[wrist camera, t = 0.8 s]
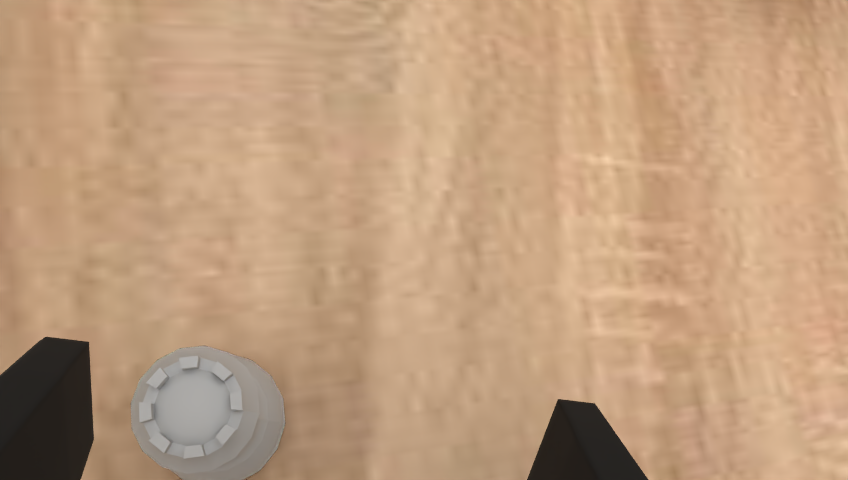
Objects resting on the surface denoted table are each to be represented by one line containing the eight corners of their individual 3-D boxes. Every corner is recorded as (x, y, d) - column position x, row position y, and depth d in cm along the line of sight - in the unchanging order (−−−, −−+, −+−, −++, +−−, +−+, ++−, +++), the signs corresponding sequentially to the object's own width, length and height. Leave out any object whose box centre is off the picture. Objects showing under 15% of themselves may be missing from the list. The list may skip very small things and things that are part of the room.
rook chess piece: (292, 360, 28) (291, 326, 20) (277, 491, 27) (270, 505, 19) (164, 349, 27) (113, 309, 20) (143, 482, 26) (80, 494, 18)
